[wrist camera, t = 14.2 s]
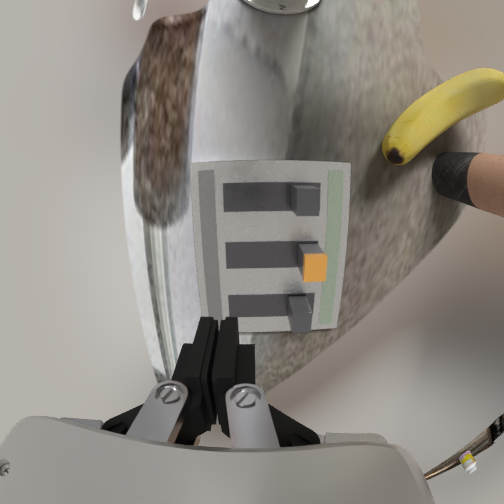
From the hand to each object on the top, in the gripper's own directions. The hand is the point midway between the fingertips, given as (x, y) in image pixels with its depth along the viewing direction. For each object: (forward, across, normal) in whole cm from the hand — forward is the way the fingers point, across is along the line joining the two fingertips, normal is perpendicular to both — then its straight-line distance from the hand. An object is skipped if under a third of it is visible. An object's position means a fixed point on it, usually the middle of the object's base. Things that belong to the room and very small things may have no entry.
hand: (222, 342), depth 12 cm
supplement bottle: (+25, -102, +109) cm, 151 cm away
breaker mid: (+23, -9, +4) cm, 25 cm away
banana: (+25, -26, -16) cm, 40 cm away
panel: (+25, -4, +4) cm, 26 cm away
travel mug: (+25, -32, -8) cm, 42 cm away
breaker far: (+23, -7, +11) cm, 27 cm away
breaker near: (+23, -7, -4) cm, 25 cm away
